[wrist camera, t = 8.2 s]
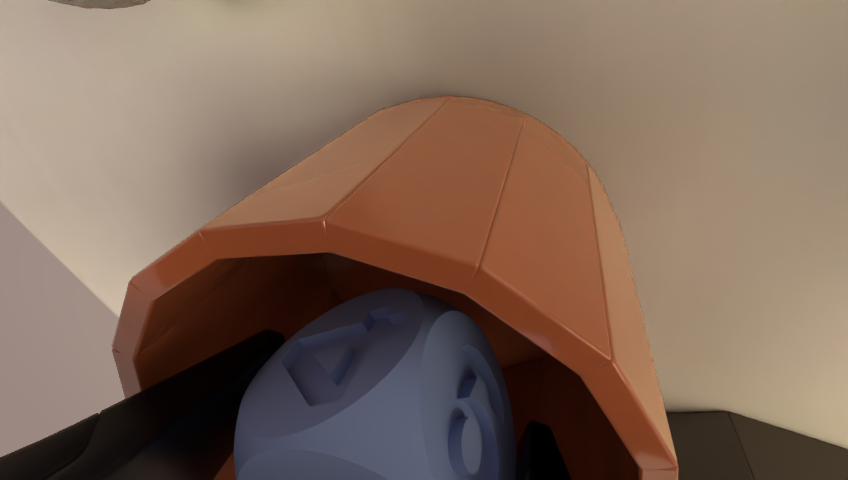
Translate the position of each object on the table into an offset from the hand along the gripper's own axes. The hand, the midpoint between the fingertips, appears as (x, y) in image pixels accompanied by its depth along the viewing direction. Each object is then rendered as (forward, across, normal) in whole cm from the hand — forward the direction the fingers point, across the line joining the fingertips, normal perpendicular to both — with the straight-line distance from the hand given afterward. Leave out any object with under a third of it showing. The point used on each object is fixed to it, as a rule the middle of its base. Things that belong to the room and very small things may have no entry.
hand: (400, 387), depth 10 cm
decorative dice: (+1, 0, 0) cm, 1 cm away
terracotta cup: (+6, 0, 0) cm, 6 cm away
